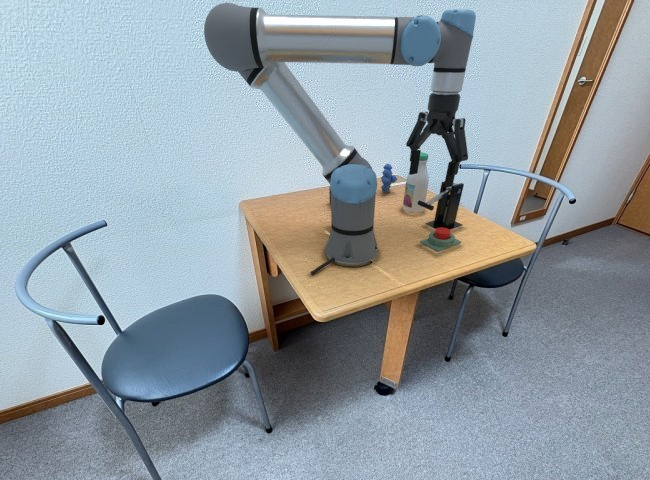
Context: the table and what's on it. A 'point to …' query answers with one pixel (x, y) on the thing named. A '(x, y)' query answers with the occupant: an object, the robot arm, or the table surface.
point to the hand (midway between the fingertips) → (429, 180)
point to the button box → (440, 242)
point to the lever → (435, 199)
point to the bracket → (448, 208)
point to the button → (442, 233)
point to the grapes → (387, 178)
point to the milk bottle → (416, 187)
